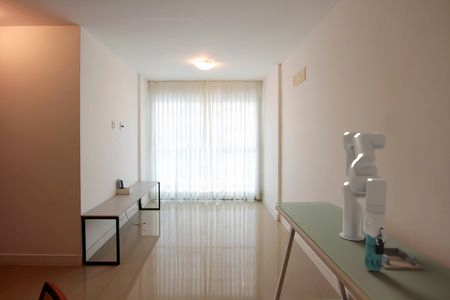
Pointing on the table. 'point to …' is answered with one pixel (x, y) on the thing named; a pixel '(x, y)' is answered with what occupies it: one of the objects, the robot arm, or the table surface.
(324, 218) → the table surface
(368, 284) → the table surface
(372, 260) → the beverage bottle
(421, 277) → the table surface
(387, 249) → the tray
